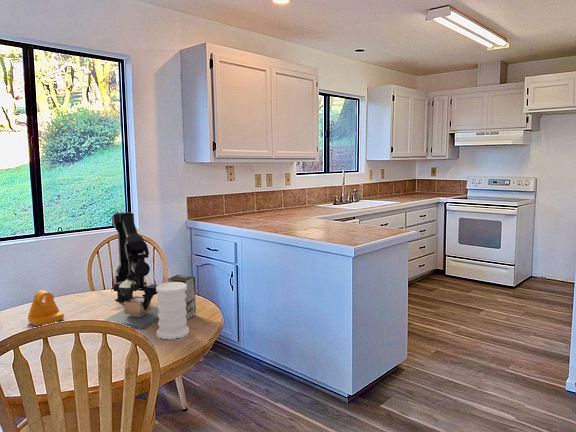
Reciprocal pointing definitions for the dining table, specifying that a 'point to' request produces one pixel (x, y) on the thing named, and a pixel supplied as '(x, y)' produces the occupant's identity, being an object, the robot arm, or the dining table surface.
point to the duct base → (136, 317)
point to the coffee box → (187, 293)
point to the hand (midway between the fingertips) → (138, 308)
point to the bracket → (44, 309)
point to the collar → (135, 307)
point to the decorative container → (172, 310)
